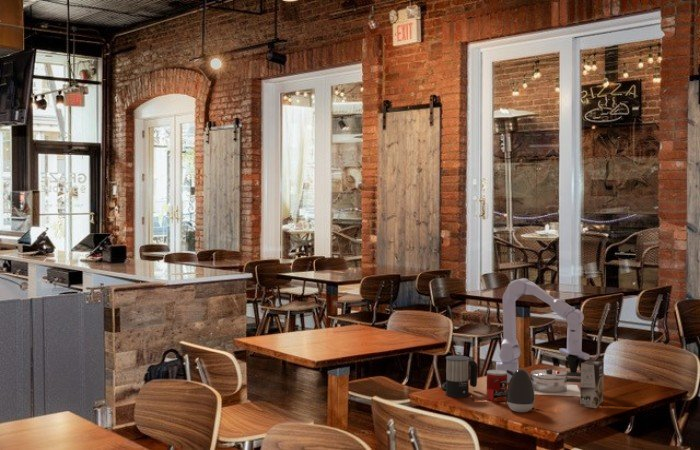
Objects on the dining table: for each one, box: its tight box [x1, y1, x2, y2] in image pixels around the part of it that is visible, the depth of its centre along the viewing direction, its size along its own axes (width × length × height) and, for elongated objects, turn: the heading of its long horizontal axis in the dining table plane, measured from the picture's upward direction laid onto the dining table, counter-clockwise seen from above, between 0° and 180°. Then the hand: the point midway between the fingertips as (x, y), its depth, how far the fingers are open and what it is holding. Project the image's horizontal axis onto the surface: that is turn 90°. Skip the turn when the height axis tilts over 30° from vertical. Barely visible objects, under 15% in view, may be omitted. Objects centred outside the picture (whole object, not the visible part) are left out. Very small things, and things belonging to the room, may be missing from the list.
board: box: [534, 384, 581, 397], centre depth 330 cm, size 20×20×1 cm
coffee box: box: [579, 359, 605, 409], centre depth 309 cm, size 9×6×16 cm
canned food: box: [486, 369, 508, 404], centre depth 314 cm, size 8×8×11 cm
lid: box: [530, 368, 581, 379], centre depth 329 cm, size 22×14×2 cm, turn 79°
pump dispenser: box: [505, 368, 536, 413], centre depth 299 cm, size 10×10×15 cm
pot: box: [529, 374, 581, 393], centre depth 329 cm, size 25×14×6 cm, turn 81°
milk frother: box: [440, 355, 479, 399], centre depth 326 cm, size 14×16×15 cm
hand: (573, 374), depth 330 cm, fingers closed
